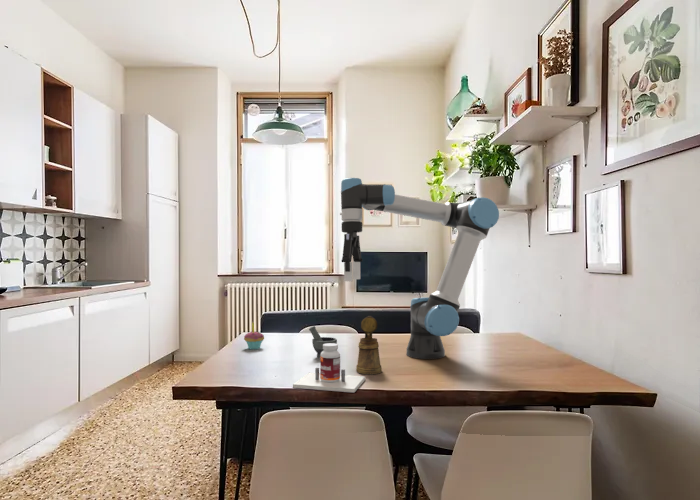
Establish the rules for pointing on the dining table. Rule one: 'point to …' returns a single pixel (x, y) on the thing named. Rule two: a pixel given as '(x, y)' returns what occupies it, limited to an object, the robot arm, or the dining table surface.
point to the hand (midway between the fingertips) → (352, 280)
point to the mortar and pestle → (320, 341)
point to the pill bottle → (330, 363)
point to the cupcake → (254, 339)
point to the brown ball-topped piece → (368, 349)
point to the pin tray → (343, 385)
